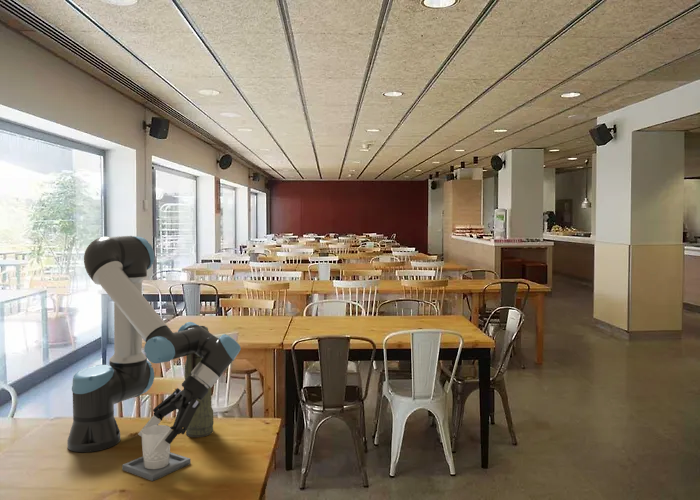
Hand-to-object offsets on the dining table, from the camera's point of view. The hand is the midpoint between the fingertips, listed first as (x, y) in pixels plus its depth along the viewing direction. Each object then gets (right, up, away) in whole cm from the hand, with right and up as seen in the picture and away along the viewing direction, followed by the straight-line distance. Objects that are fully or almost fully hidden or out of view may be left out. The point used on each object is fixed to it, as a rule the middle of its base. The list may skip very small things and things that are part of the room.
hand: (149, 444), depth 157 cm
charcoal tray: (+2, -7, +2) cm, 7 cm away
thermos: (+7, -6, +28) cm, 29 cm away
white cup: (+2, -7, +2) cm, 7 cm away
